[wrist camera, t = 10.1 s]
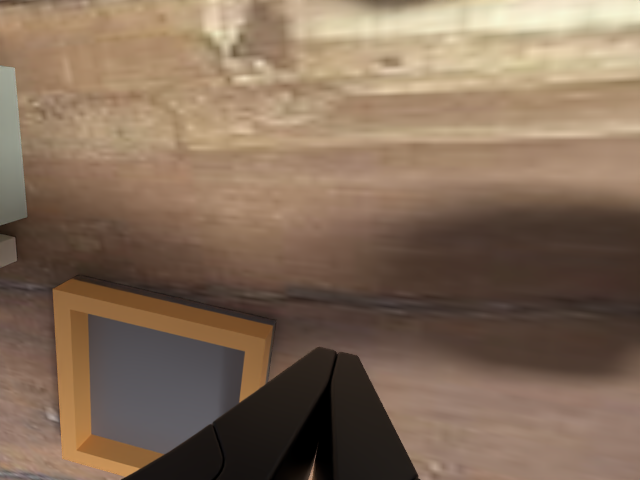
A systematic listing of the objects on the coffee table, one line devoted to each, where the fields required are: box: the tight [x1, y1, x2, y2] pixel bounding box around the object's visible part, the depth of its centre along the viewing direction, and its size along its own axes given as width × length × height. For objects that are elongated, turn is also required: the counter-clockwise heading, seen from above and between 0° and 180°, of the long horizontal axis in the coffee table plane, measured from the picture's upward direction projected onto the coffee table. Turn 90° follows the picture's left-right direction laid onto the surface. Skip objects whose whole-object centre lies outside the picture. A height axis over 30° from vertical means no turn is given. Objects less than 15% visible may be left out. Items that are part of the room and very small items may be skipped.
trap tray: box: [53, 275, 276, 477], centre depth 25 cm, size 12×12×2 cm
